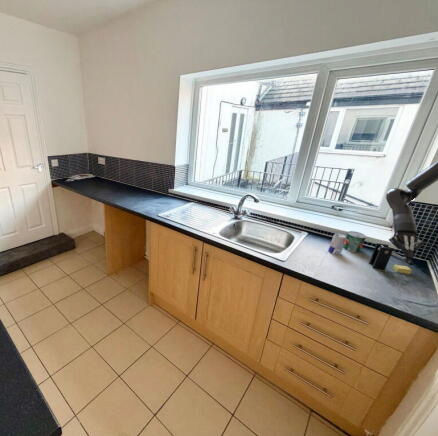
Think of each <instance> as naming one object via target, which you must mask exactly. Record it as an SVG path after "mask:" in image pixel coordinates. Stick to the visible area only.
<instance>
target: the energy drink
mask: <svg viewBox="0 0 438 436" xmlns="http://www.w3.org/2000/svg"><path fill="white" fill-rule="evenodd" d="M346 236H347V235H345V234H343V233H338V232H336V233H334V234H333V236H332V239H331V242H330V245H329V247H328V251H327V252H328V253H329V254H332V255H336V256H340V255H341V254H342V251H343V249H344V248H343V246H344V243H345V240H346Z"/></svg>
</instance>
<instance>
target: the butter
mask: <svg viewBox="0 0 438 436" xmlns="http://www.w3.org/2000/svg"><path fill="white" fill-rule="evenodd" d="M392 269H393V270H394V271H395V272H396V273H401V274H406V275H411V273H412V271H413V270H412V269H411V268H410V267H409V266H407V265H400V264H393V267H392Z"/></svg>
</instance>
